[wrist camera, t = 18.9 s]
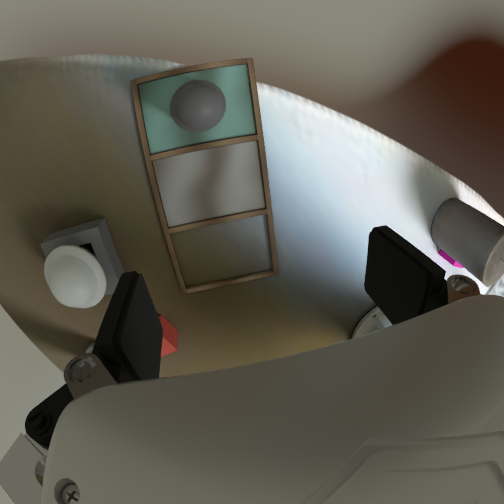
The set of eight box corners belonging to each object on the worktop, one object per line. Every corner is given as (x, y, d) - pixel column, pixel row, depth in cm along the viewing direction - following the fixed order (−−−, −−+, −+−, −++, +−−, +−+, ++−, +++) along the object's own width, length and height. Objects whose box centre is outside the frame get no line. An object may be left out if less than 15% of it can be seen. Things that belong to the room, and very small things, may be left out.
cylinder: (216, 82, 26) (226, 69, 17) (223, 123, 28) (235, 129, 20) (171, 91, 25) (161, 82, 17) (179, 132, 28) (172, 142, 19)
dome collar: (104, 217, 30) (97, 227, 28) (127, 278, 35) (123, 291, 32) (49, 233, 30) (39, 243, 27) (74, 289, 34) (67, 302, 31)
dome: (99, 225, 29) (79, 254, 23) (122, 284, 33) (110, 320, 27) (46, 240, 28) (21, 269, 22) (71, 294, 32) (54, 328, 26)
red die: (161, 314, 39) (159, 333, 35) (177, 330, 41) (177, 350, 37) (141, 324, 39) (138, 344, 35) (157, 340, 41) (156, 360, 37)
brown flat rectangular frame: (251, 58, 25) (252, 57, 25) (277, 272, 39) (278, 274, 38) (131, 81, 24) (130, 80, 23) (183, 291, 37) (182, 294, 37)
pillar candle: (467, 199, 40) (526, 234, 27) (455, 246, 44) (506, 287, 31) (437, 195, 38) (504, 235, 25) (424, 248, 43) (480, 296, 30)
